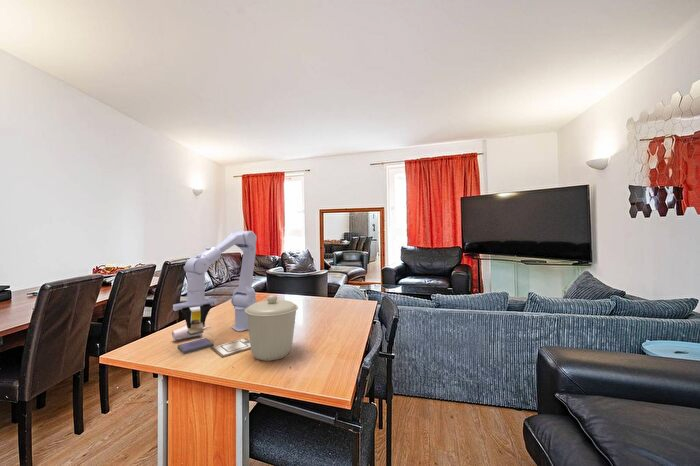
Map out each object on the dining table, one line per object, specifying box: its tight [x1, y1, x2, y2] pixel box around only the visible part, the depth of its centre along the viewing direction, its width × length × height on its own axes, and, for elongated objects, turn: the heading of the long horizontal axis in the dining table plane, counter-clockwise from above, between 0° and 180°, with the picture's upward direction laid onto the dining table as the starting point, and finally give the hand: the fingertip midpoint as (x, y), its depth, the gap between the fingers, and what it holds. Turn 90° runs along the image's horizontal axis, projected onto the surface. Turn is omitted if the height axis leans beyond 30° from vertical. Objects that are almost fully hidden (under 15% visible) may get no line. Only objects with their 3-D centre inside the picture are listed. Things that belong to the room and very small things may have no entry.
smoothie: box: [171, 325, 212, 341], centre depth 113 cm, size 6×6×14 cm
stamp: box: [187, 320, 204, 335], centre depth 103 cm, size 4×4×5 cm
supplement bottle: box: [190, 306, 206, 328], centre depth 122 cm, size 7×7×13 cm
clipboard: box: [210, 337, 251, 359], centre depth 103 cm, size 14×11×1 cm
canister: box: [245, 294, 299, 361], centre depth 97 cm, size 18×18×21 cm
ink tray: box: [177, 337, 214, 355], centre depth 103 cm, size 10×8×1 cm
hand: (195, 326), depth 103 cm, fingers closed on stamp, 4 cm apart
